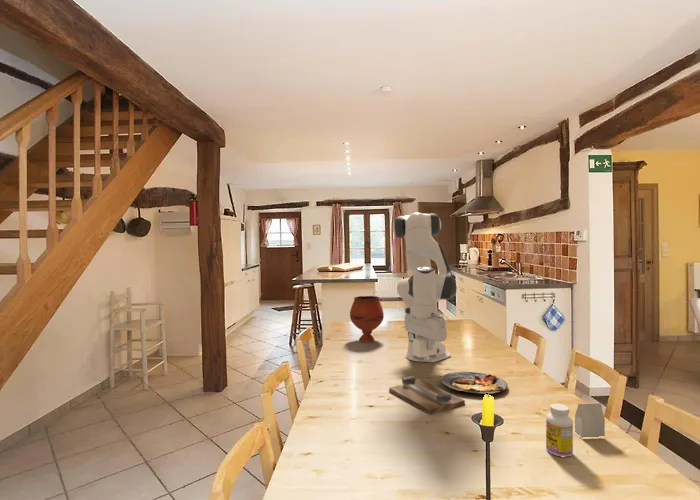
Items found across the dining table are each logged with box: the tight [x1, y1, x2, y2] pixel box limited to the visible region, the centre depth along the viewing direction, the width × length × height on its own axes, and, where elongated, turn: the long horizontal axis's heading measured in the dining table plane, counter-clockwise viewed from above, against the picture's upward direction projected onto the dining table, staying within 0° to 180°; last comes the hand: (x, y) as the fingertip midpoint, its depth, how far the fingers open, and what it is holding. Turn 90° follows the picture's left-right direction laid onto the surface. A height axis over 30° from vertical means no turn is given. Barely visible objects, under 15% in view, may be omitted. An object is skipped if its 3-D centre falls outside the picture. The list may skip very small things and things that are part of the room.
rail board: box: [388, 375, 466, 415], centre depth 155 cm, size 16×24×4 cm, turn 29°
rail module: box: [413, 337, 437, 362], centre depth 154 cm, size 8×4×7 cm, turn 119°
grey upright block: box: [574, 402, 606, 438], centre depth 124 cm, size 4×7×10 cm, turn 92°
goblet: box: [349, 295, 385, 343], centre depth 238 cm, size 19×19×25 cm
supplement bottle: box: [545, 403, 574, 458], centre depth 115 cm, size 7×7×13 cm
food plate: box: [441, 371, 508, 395], centre depth 166 cm, size 25×23×4 cm
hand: (425, 348), depth 154 cm, fingers closed on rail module, 4 cm apart
